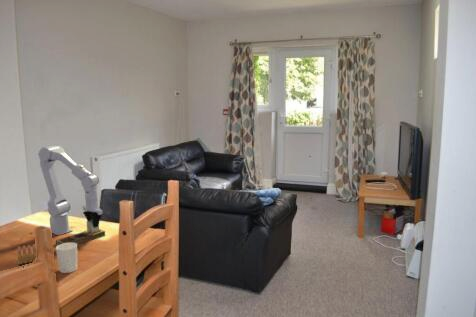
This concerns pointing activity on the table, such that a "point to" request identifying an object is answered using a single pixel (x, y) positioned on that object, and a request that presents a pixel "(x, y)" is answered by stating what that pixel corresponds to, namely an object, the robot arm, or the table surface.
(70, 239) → the beige slotted frame
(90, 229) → the metal peg
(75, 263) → the white cup
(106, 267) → the table surface
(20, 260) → the ammunition clip
